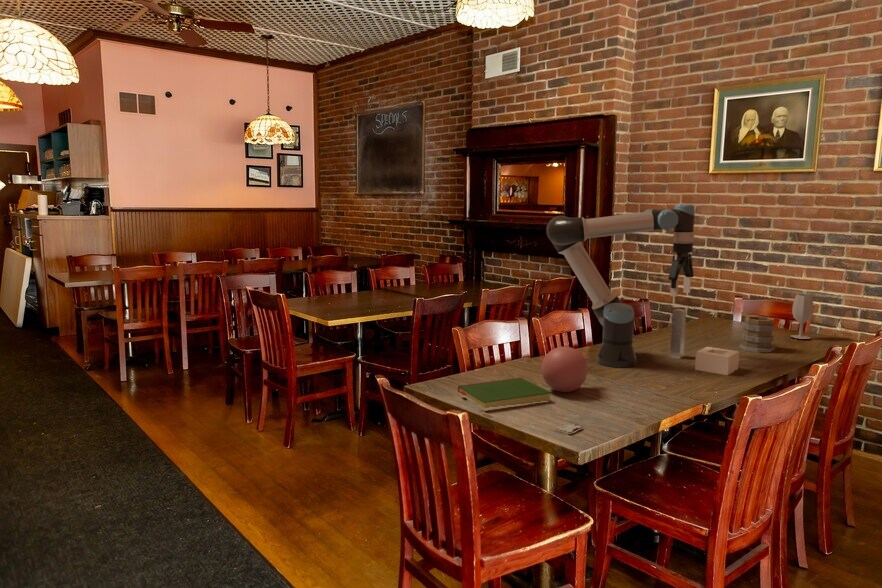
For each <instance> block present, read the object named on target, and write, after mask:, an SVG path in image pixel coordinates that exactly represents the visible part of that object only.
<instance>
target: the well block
mask: <svg viewBox="0 0 882 588" xmlns="http://www.w3.org/2000/svg"><path fill="white" fill-rule="evenodd" d="M739 359H740V351H738V350H732V349H726V348H720V347H719V348H718V347H711V346H706V347H703V348H702V349H699V350H698V351H695V362H694V363H695V364H694V370H695V371H700V372H705V371H706V373H712V374H718V375H723V376H729V375H731V374H732V373H734V372H736V371H737V370H738V369H739ZM735 370H736V371H735Z"/></svg>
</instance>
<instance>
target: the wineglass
mask: <svg viewBox="0 0 882 588" xmlns="http://www.w3.org/2000/svg"><path fill="white" fill-rule="evenodd" d="M814 307H815V306H814V299H813V295H811V294H807V293H797V294H796V295H795V297H794V299H793V303H792V309H791V311H792V312H791V313H792V316H793V318H794V319H795V320H796V322H798V323H799V329H798V334H794V335H793V334H792V335H790V336H791V337H794V338H799V339H810V338H812V337H810V336H807V335H803V333H804V324H805V323H806V322H807V321H809V320H811V319H812V316H813V314H814ZM810 340H811V339H810Z"/></svg>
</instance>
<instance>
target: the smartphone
mask: <svg viewBox="0 0 882 588" xmlns="http://www.w3.org/2000/svg"><path fill="white" fill-rule="evenodd" d="M567 422H568V423H569V424H567V425H564V426H565V427H564V426H563V425H562V426H563V427H562V428H561V427H560V426H561V425H560V426H559V427H560V429H559V427H558V429H557V430H560V431H564V432H568V433H572V432H574V431H576V430H578V429H581V428H582V427H583V425H580V424H578V423H573V422H569V421H567ZM572 423H573V424H572ZM566 426H567V427H566ZM583 428H584V427H583Z"/></svg>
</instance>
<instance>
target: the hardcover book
mask: <svg viewBox="0 0 882 588" xmlns="http://www.w3.org/2000/svg"><path fill="white" fill-rule="evenodd" d="M458 392H459V393H461V394H462V395H465V396H467V397H468V398H470V399H472V400H473V401H475V402H476V403H478V404H479V405H481V406H482V407H484V408H489V407H498V406H506V405H516V404H525V403H533V402H541V401H549V400H550V401H551V394H552V391H549V390H547V389H545V388H543V387H541V386H538V385H537V384H535V383H533V382H531V381H529V380H526V379H525V378H523V377H516V378H508V379H500V380H494V381H493V380H492V381H484V382H476V383H470V384H464V385H463V384H462V385H461V384H460V385H458V386H457V393H458Z"/></svg>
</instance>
